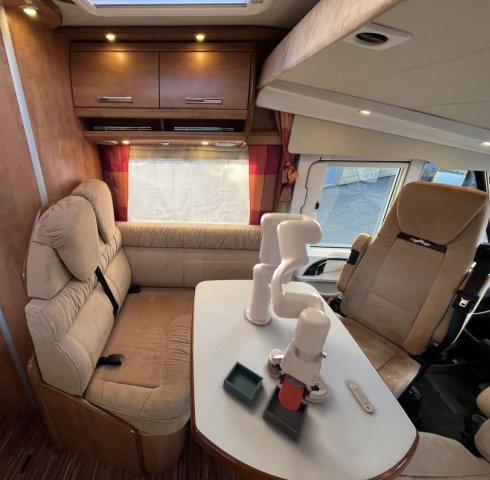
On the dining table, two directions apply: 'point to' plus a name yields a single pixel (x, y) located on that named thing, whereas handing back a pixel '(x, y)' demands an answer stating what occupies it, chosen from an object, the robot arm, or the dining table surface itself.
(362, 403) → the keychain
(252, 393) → the pill bin
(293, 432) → the can bin
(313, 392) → the lid
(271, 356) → the pill bottle
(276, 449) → the dining table surface
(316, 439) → the dining table surface
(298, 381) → the beer can
